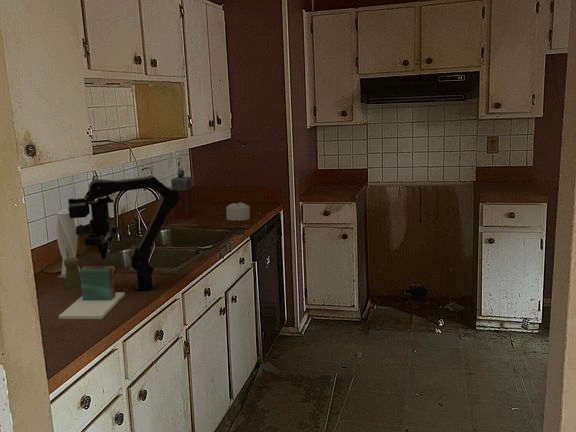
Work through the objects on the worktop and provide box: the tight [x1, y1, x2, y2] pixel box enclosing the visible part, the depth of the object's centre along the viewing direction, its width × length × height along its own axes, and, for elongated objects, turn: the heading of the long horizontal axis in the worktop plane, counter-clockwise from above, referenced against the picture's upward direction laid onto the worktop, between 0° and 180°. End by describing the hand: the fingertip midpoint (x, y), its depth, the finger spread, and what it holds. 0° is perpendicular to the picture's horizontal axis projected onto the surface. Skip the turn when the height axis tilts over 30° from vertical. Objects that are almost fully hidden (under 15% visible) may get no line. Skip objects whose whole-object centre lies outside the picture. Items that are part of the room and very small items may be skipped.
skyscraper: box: [55, 205, 81, 280], centre depth 225 cm, size 8×8×28 cm
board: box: [58, 291, 126, 320], centre depth 193 cm, size 22×14×1 cm, turn 177°
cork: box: [64, 257, 81, 290], centre depth 213 cm, size 6×6×11 cm
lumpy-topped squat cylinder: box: [225, 202, 251, 222], centre depth 324 cm, size 10×13×9 cm
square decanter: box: [170, 169, 195, 220], centre depth 328 cm, size 9×11×28 cm
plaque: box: [80, 265, 116, 300], centre depth 196 cm, size 4×10×11 cm, turn 87°
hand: (104, 258), depth 203 cm, fingers closed
